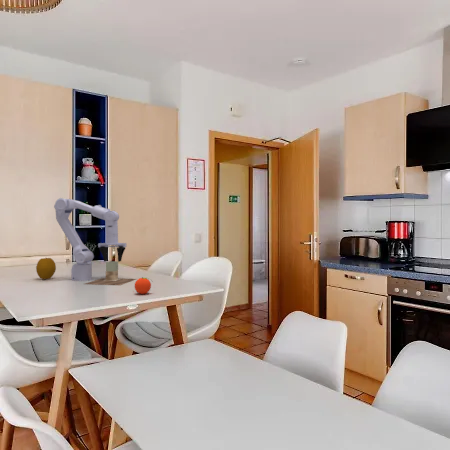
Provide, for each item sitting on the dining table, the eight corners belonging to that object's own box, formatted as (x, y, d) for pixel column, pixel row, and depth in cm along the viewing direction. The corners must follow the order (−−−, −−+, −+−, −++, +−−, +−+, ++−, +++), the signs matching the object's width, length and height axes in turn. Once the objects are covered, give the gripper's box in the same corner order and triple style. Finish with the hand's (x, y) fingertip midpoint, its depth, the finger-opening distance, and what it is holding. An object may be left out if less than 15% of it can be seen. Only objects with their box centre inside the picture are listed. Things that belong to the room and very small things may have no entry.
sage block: (105, 271, 206) (105, 262, 206) (110, 270, 210) (109, 261, 210) (114, 271, 205) (114, 262, 205) (118, 270, 209) (118, 261, 209)
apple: (51, 280, 212) (50, 258, 211) (32, 280, 212) (32, 258, 212) (59, 277, 221) (58, 256, 221) (41, 277, 222) (41, 256, 221)
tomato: (150, 291, 180) (150, 275, 180) (155, 294, 174) (155, 277, 174) (132, 293, 176) (132, 276, 176) (137, 296, 170) (136, 279, 170)
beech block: (105, 280, 206) (105, 271, 206) (109, 278, 210) (109, 270, 210) (113, 280, 205) (113, 271, 205) (118, 279, 209) (117, 270, 209)
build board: (82, 286, 194) (82, 283, 194) (103, 279, 214) (103, 277, 214) (120, 287, 191) (120, 285, 191) (137, 280, 210) (137, 278, 210)
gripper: (94, 235, 205) (95, 262, 205) (121, 234, 202) (122, 262, 202) (101, 234, 212) (102, 260, 212) (128, 234, 209) (128, 260, 209)
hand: (112, 261), depth 207 cm, fingers open, 7 cm apart
